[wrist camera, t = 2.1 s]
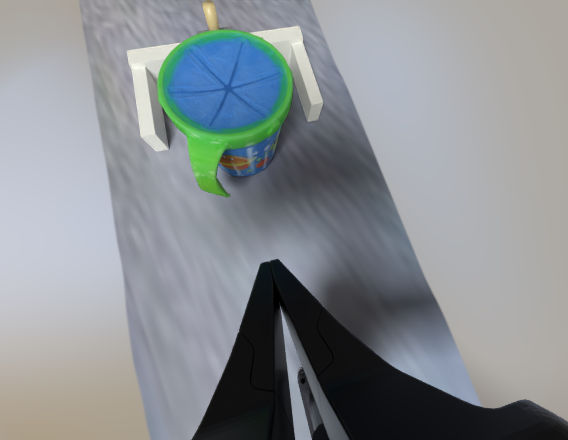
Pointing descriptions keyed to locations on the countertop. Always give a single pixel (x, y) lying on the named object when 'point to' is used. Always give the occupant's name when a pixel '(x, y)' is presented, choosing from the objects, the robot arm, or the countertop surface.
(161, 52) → the centring cradle
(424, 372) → the countertop surface
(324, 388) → the robot arm
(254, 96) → the snack cup
